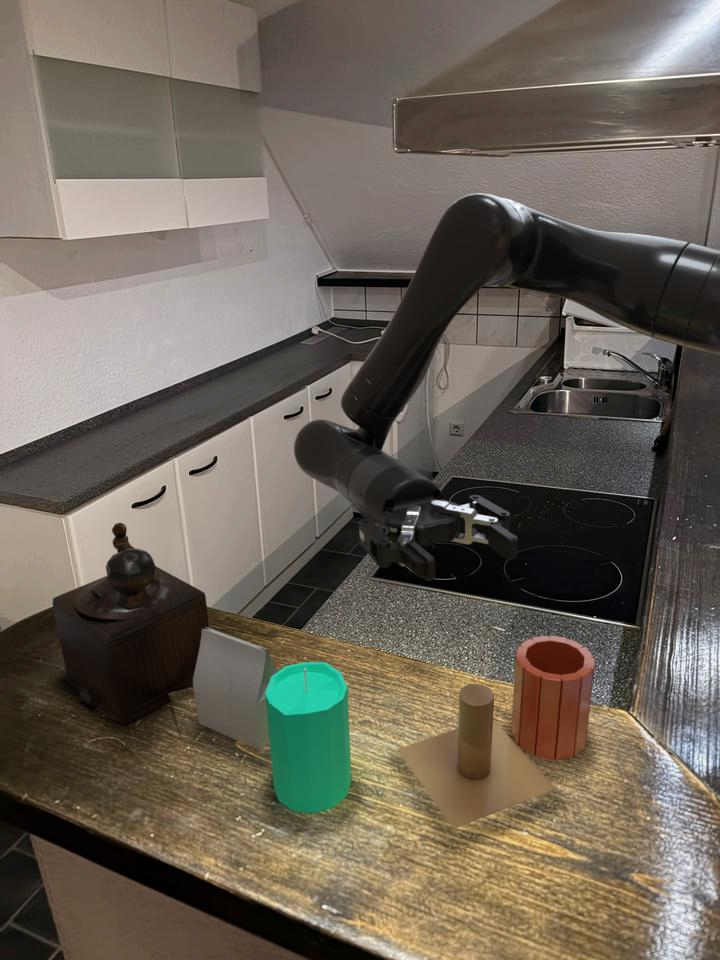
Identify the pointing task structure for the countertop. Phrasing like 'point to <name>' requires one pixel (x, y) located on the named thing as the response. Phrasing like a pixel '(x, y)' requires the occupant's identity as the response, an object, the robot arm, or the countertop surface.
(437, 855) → the countertop surface
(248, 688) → the tea bag
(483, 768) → the ring holder
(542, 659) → the hollow cylinder
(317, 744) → the candle
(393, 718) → the countertop surface
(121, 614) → the brown coffee grinder
